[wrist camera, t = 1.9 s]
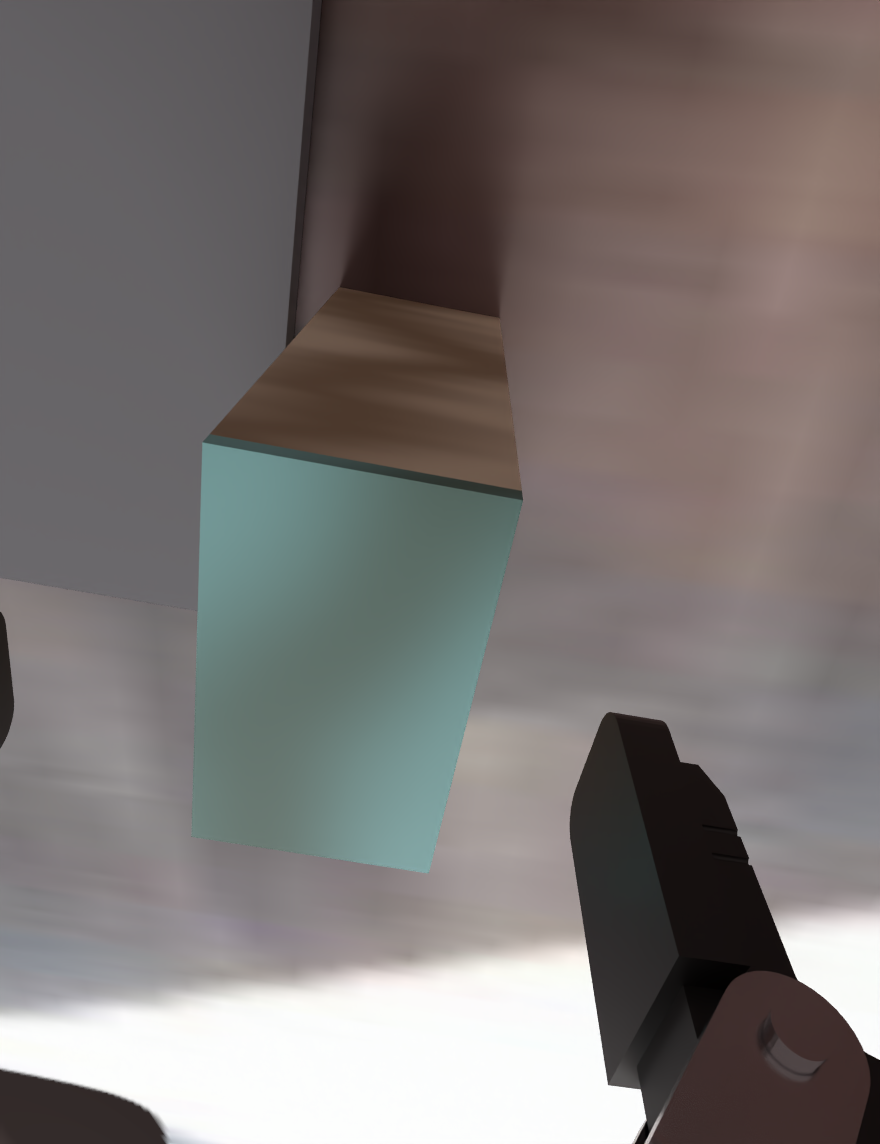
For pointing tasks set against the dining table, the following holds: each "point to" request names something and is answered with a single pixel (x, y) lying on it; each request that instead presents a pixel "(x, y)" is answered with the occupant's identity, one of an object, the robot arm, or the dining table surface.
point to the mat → (139, 268)
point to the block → (351, 580)
